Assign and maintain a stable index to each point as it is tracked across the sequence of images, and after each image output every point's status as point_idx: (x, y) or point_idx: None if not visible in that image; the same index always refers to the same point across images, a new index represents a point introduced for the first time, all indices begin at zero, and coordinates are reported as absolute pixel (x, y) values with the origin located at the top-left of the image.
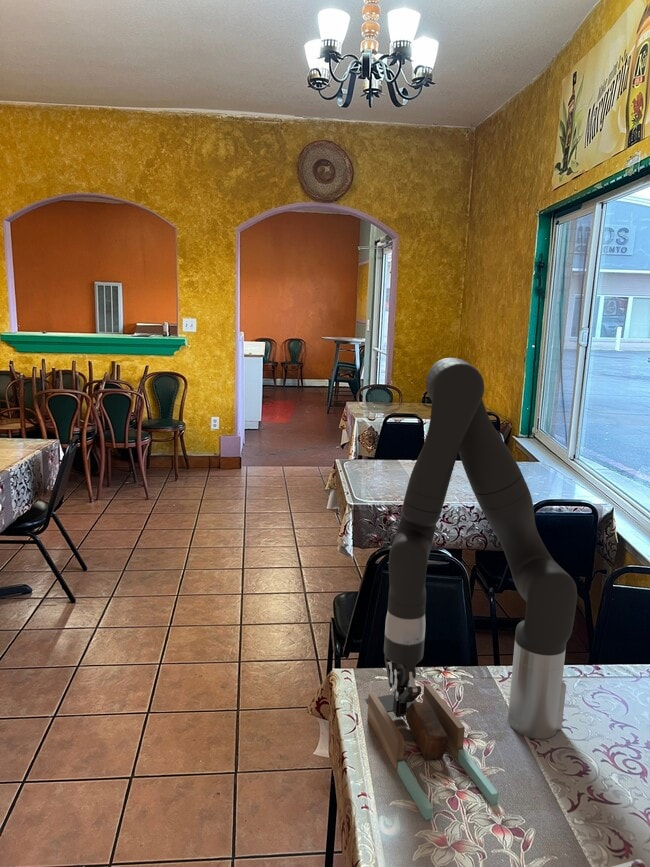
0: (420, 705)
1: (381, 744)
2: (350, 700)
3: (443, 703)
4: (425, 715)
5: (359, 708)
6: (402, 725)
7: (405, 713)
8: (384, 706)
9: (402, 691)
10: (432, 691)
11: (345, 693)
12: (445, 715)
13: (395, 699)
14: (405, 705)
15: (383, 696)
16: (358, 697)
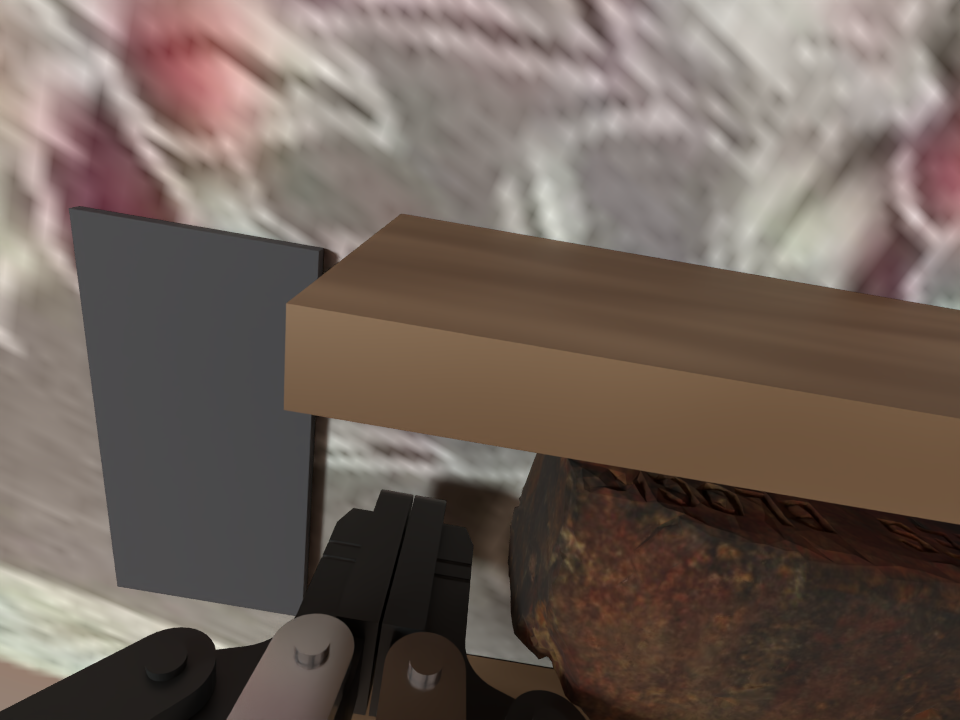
0: (670, 653)
1: None
2: (109, 645)
3: (933, 449)
4: (851, 691)
5: None
6: (491, 512)
7: (471, 547)
8: (242, 520)
9: (340, 710)
10: (539, 406)
11: (24, 636)
12: None
13: (376, 707)
14: (464, 621)
15: (110, 463)
16: (83, 593)
